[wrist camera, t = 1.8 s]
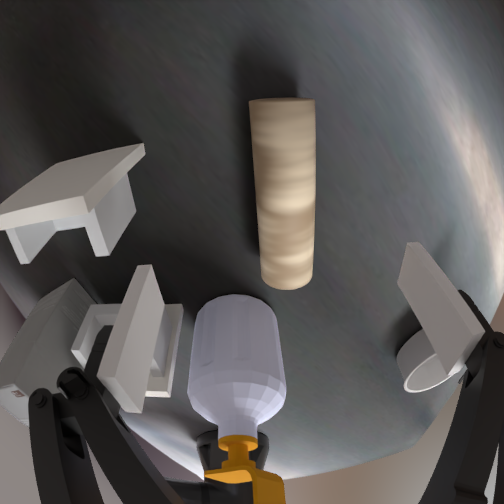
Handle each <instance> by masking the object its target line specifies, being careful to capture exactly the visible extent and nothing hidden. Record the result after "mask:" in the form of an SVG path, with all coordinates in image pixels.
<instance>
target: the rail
mask: <svg viewBox="0 0 504 504" xmlns="http://www.w3.org/2000/svg"><path fill="white" fill-rule="evenodd" d="M249 111H250V124H251V137H252V150H253V163H254V177H255V191H256V204H257V218H258V233H259V247H260V262H261V276H262V279H263V280H264V282H265V283H266V284H268V285H269V286H271V287H273V288H277V289H282V290H291V289H296V288H300V287H302V286H304V285H306V284H307V283H308V282H309V281H310V279H311V277H312V268H313V249H314V224H315V180H316V134H315V100H314V99H310V98H295V97H287V98H264V99H256V100H251V101H249Z"/></svg>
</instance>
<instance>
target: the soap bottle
mask: <svg viewBox="0 0 504 504" xmlns="http://www.w3.org/2000/svg"><path fill="white" fill-rule="evenodd" d="M187 394H188V397H189V399H190V402H191V405H192V407H193V409H194V410H195V411H196V412H198V413H199V414H200V415H201V416H203V417H204V418H205V419H206V420H208V421H209V422H212V423H214V424H217V425H218V446H219V448H220V449H222V450H225V451H228V460H226V461H223V462H222V469H215V470H207V471H204V476H205V477H207V478H211V479H214V480H218V481H221V482H225V483H242V482H249V481H252V483H253V501H254V504H286V502H285V493H284V483H283V480H282V478H281V477H280V476H278V475H277V474H274V473H270V472H267V471H264V470H260V469H257V468H256V462H254V461H252V460H249V456H248V451H251V450H254V449H256V448H257V447H258V438H257V426H258V425H259V424H261V423H263V422H265V421H267V420H268V419H270V418H271V417H272V416H273V415H275V414H276V413H277V412H278V411H279V410H280V409H281V407H282V406H283V404H284V401H285V397H286V383H285V375H284V368H283V361H282V354H281V347H280V339H279V332H278V325H277V319H276V316H275V314H274V313H273V311H272V309H271V308H270V307H269V306H268V305H267V304H265V303H264V302H263V301H262V300H260V299H257V298H254V297H251V296H248V295H238V294H231V295H225V296H220V297H217V298H215V299H213V300H211V301H209V302H207V303H206V304H205V305H204V306H203V307H202V308H201V310H200V311H199V312H198V314H197V317H196V321H195V328H194V336H193V344H192V353H191V362H190V371H189V380H188V390H187Z"/></svg>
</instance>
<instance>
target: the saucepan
mask: <svg viewBox="0 0 504 504" xmlns="http://www.w3.org/2000/svg"><path fill="white" fill-rule="evenodd" d="M396 362H397V365H398V367H399V370H400V372H401V374H402V377H403V379H404V389H405V390H406V391H408V392H420V391H424V390H427V389H430V388H432V387H435V386H437V385H439V384H440V383H442V382H444V381H445V380H447V379H448V378H450V377H451V376H452V375H453V374H451V375H448V376H447V375H446V373H445V371H444V368H443V366H442V364H441V362H440V360H439V358H438V356H437V354H436V352H435V350H434V349H433V347H432V345H431V343H430V341H429V339H428V337H427V335H426V333H425V331H424V330H423V329H422V330H420V331H419V332H417V333H416V334H415V335H413V336H412V337H411V338H410V339H409V340H408V341H407V342H406V343H405V344H404V345H403V346H402V348H401V349H400V351H399V352H398V355H397V358H396ZM454 374H455V373H454Z"/></svg>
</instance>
